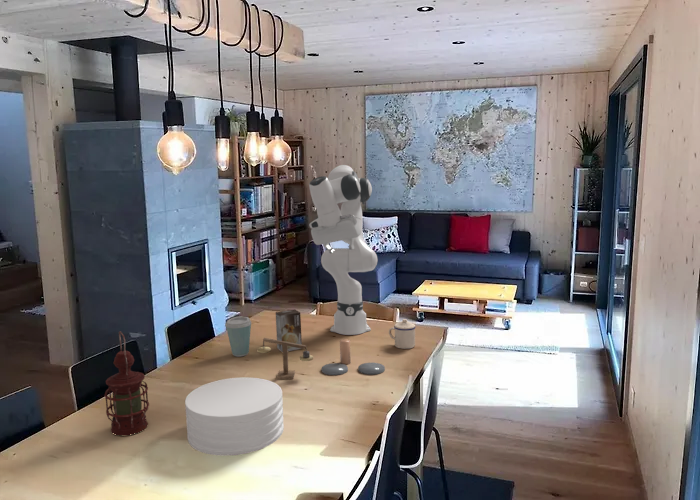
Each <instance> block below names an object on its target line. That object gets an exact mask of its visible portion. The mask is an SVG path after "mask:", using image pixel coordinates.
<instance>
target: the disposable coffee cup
mask: <svg viewBox="0 0 700 500" xmlns="http://www.w3.org/2000/svg"><path fill="white" fill-rule="evenodd" d="M224 324H225V327H226V332H227V336H228V340H229V345H230V350H231V354H232V356H234V357H238V358H239V357H240V358H241V357H245V356H248V355H249V352H250V344H251V343H250V341H251V339H250V338H251V332H252V331H251V329H252V324H253V323H252V320H251V319H250V318H249V316H241V315H240V316H235V317H232V318H230V319H227V321H226V323H224Z"/></svg>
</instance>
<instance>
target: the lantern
mask: <svg viewBox="0 0 700 500" xmlns="http://www.w3.org/2000/svg"><path fill="white" fill-rule="evenodd" d="M121 336H122V337H121ZM118 338H119V346H120V348H119V349H120V350H119V351H118V352H117V353H116V354H115V357H114V358H113V359H114V361H113V365H114V367H116V368H117V369H118V372H117V373H115V374H113V375H111V376H109V377H107V379H106V380H105V385H107V386H108V388H107V389H106V390H105V392H104V398H105V406H106V410H105V413H106V417H107V419H108V420H109V421H111V424H110V425H111V429H110V432H112V433H114V434H116V435H130V434H134V433H137V434H139V433H141V432H140V431H142V430H144V429H145V428H146V429H147V428H148V426H147V425H148V424H149V423H148V421H147V411H148V410H149V406H150V403H149V398H148V397H149V396H148V390H149V389H148V388H149V387H148V384H147V383H146V381H144V380H145V377H146V375H145V374H144V373H143V372H140V371H133V370H132V369H131V368H132V366H133V365H134V362H135V358H134V356H133V354H132V353H131V352H130V351H128V350H126V339H125V335H124V334H123V332H122V331H120V330H119V331H118ZM122 339H123V344H122ZM122 345H123V347H122ZM143 383H144V384H143ZM141 389H142V392H141ZM108 394H109V396H108ZM142 396H143V399H142ZM145 396H146V399H145ZM108 400H109V402H108ZM142 402H143V409H142ZM108 403H109V404H108ZM108 405H109V406H108ZM109 410H110V412H109ZM110 417H112V418H110ZM146 429H145V430H146ZM145 430H144V431H145ZM138 432H139V433H138ZM142 432H143V431H142ZM112 433H111V434H112ZM114 434H113V435H114ZM116 435H115V436H116ZM134 435H135V434H134Z"/></svg>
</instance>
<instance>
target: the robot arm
mask: <svg viewBox="0 0 700 500" xmlns="http://www.w3.org/2000/svg"><path fill="white" fill-rule="evenodd" d="M308 185H309V186H308V187H309V192H310V196H311V199H312V200H311V201H312V204H313V205H314V207H315V209H316V214H317V217H316V218H315V219H314V220H313V221H311V222H310V223H309V225H308V226H309V229H311V230H310V234H311V237H312V241H313V243H314V244H315V245H316V246H319V245H323V247H324V248H325V250H324V251H323V252H322V255H321V257H320V259H321V260H320V262H321V266H322V268H323V270H325V271H326V272H328V273H329V274H330V275H331V277H332V278H333V279H334V281H335V283H336V289H337V301H336V308H337V310H336V312H334V314H333V325H332V326H331V328H330V329H329V331H330V332H332V333H337V334H340V335H346V336H352V335H355V336H356V335H360V334H364V333H367V332H370V331H371V330H372V329H371V327H370V326H369V325H368V323H367V313H366V312H365V311H364V301H363V296H362V294H363V288H362V287H363V286H362V284H361V282H360V281H358V280H356V279H355V278H353V277H351V276H350V275H349V273H367V272H371V271H374V269H376V267H377V265H378V255H377V253H376V251H374V249H372V248H371V247H369V245H368V244H367V243H366V241H365V239H364V235H363V234H364V233H363V210H362V209H363V208H362V205H365V204H366V202H367V201H368V200H370V199H371V195H372V193H373V192H372V191H373V187H372V184H371V181H370V180H369V178H365V177H360V178H359V177H358V174H357V172H356V171H354V169H353V168H352V167H351V166H350V165H346V164H340V165H338V166H336V167H334V168H333V169H332V170H331V171H330V172H329V173H328V175H327V176H326V175H325V176H323V175H322V176H318V177H315V178H314V179H312V180H311V181H310V182H309V183H308ZM341 203H342V204H341ZM339 204H341V206H340V207H339ZM341 241H342V242H344V243H345V244H348V245H347V247H345V248H343V247H341V248H339V247H338V248H337V247H336V248H335V247H334V248H333V247H331V246H330V244H331V243H336V242H341Z"/></svg>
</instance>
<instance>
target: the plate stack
mask: <svg viewBox="0 0 700 500" xmlns="http://www.w3.org/2000/svg"><path fill="white" fill-rule="evenodd" d="M283 403H284V399H283V390H282V388H281V386H280V385H279V384H277V383H276V382H275V381H271V380H268V379H264V378H258V377H247V376H246V377H244V376H243V377H231V378H230V377H229V378H222V379H219V380H215V381H211V382H208V383H205V384H202V385H200V386H199V387H196V388H195V389H193V390H191V392H190V393H188V394H187V396H186V397H185V401H184V405H185V417H186V418H185V419H186V420H185V422H186V432H187V433H186V434H187V435H186V437H187V442H188V444H189V445H190V447H192V448H193V449H195V450H196V451H198V452H200V453H203V454H206V455H212V456H238V455H243V454H248V453H254V452H256V451H259V450H262V449H264V448H266V447H268V446H271V444H273V443H275V442H277V440H278V439H280V437H281V436H282V435H283V432H284V426H285V425H284V406H283V405H284V404H283Z"/></svg>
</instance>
